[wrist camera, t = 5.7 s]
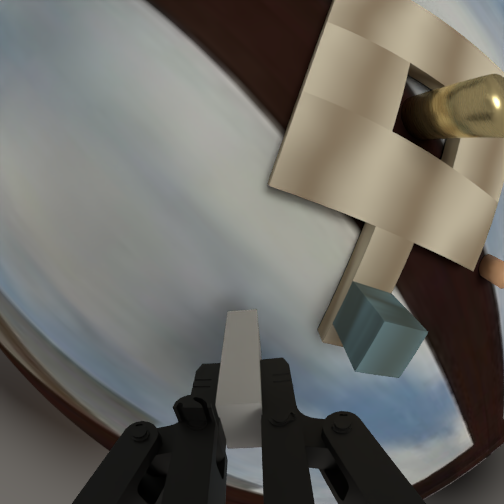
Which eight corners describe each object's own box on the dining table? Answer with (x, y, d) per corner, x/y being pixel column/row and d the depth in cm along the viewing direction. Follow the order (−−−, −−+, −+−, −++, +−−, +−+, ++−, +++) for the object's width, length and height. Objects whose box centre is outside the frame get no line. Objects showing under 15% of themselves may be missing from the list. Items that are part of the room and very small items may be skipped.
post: (396, 126, 15) (480, 114, 8) (407, 88, 15) (486, 60, 7) (431, 147, 16) (517, 149, 8) (440, 110, 15) (523, 98, 7)
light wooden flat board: (226, 304, 19) (216, 367, 13) (340, -21, 12) (369, -72, 6) (415, 350, 20) (452, 400, 14) (505, 88, 14) (557, 82, 8)
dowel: (475, 273, 19) (494, 285, 16) (485, 251, 18) (504, 261, 16) (487, 279, 19) (505, 290, 16) (496, 258, 18) (515, 268, 16)
